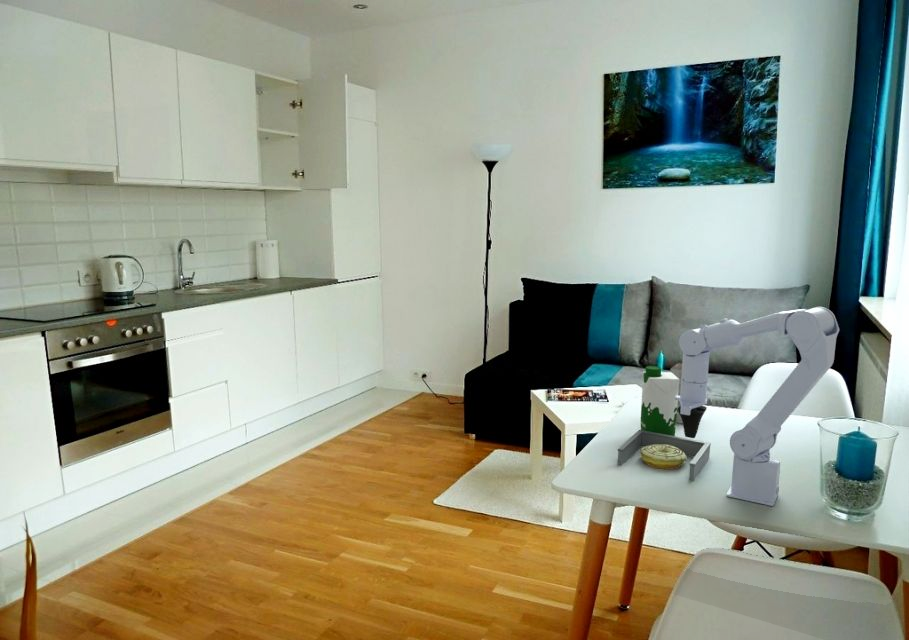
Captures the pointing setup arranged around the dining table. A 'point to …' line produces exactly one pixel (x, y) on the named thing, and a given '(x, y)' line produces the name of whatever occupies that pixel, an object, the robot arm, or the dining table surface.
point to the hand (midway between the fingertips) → (690, 436)
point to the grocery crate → (688, 446)
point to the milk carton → (659, 401)
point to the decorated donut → (663, 456)
